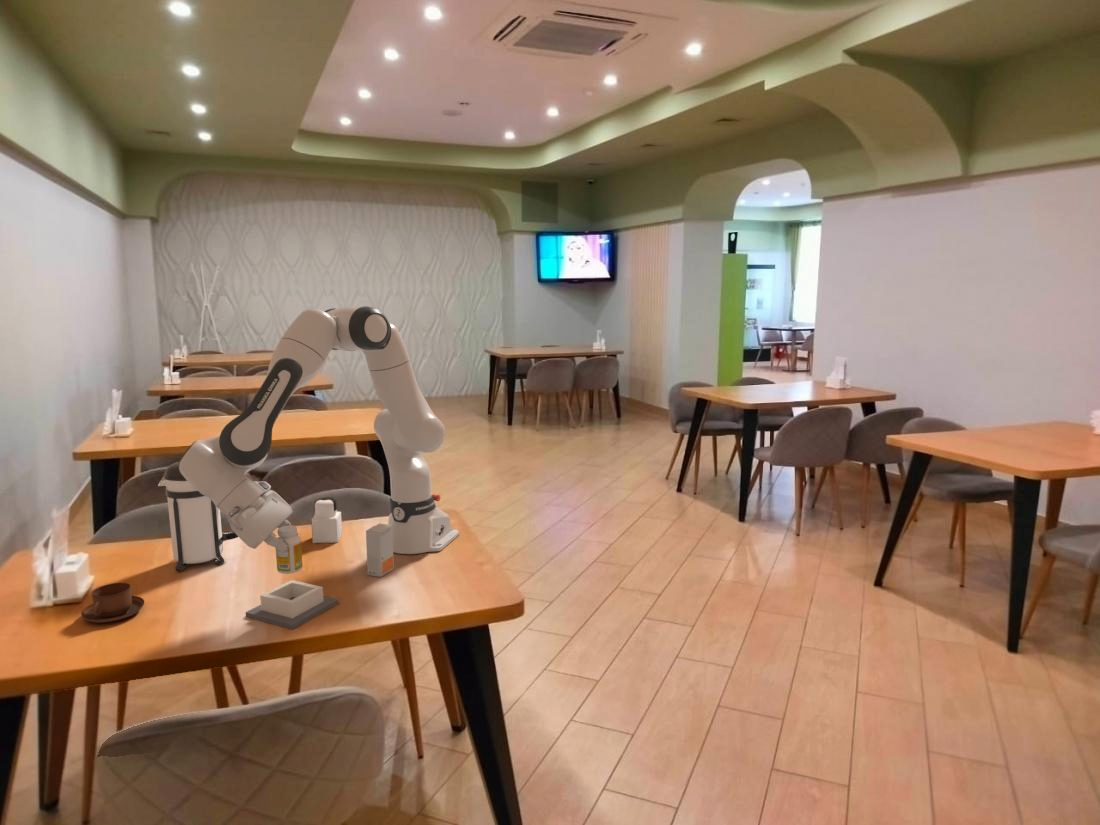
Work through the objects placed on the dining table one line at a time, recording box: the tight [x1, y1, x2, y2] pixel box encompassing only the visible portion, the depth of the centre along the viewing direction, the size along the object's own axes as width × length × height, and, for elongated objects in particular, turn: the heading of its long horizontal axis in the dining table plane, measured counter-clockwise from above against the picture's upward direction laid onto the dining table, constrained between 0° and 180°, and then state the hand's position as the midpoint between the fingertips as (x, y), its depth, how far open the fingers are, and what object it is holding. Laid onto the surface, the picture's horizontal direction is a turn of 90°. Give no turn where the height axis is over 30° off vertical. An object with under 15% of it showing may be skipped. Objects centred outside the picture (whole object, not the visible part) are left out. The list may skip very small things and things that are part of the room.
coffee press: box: [157, 460, 239, 573], centre depth 188 cm, size 17×16×30 cm
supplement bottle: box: [275, 525, 303, 575], centre depth 159 cm, size 5×5×10 cm
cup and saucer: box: [81, 582, 145, 624], centre depth 158 cm, size 12×12×6 cm
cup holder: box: [245, 579, 339, 630], centre depth 161 cm, size 14×14×4 cm
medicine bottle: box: [310, 496, 343, 544], centre depth 206 cm, size 7×7×12 cm
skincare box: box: [365, 523, 395, 578], centre depth 181 cm, size 6×4×12 cm
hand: (291, 543), depth 158 cm, fingers closed on supplement bottle, 5 cm apart
